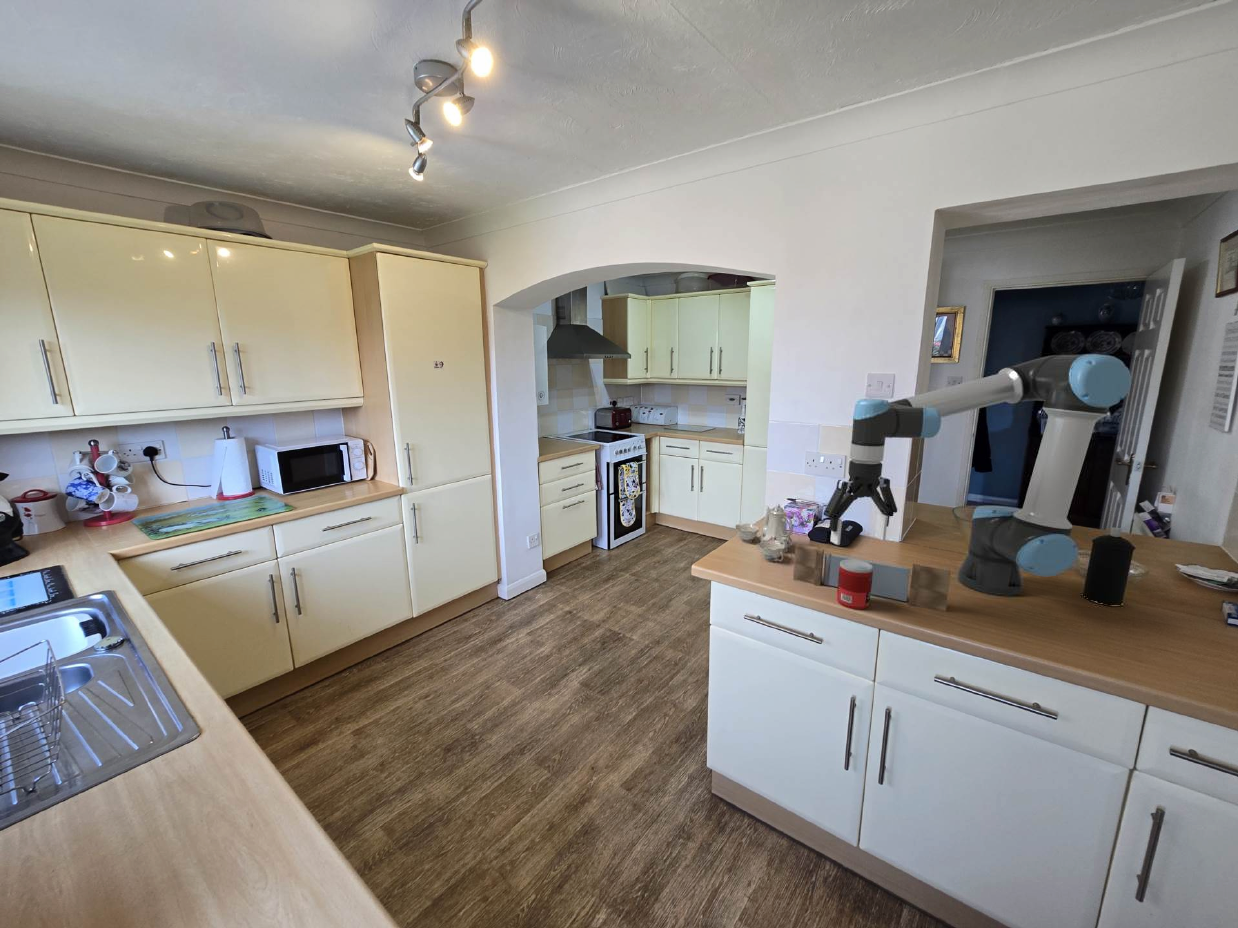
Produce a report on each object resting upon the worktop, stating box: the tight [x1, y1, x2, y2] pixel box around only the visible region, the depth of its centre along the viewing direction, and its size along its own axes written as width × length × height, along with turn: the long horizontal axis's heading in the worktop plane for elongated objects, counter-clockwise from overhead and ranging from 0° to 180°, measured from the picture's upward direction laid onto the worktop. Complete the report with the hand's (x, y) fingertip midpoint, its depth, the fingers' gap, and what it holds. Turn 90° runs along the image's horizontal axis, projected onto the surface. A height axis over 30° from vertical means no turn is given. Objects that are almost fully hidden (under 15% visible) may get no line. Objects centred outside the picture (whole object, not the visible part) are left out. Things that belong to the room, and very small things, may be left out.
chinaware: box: [735, 503, 794, 562], centre depth 170 cm, size 28×17×17 cm, turn 17°
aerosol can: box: [1081, 527, 1136, 606], centre depth 131 cm, size 8×8×20 cm
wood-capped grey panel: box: [792, 543, 952, 613], centre depth 137 cm, size 38×3×10 cm, turn 58°
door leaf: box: [822, 552, 911, 602], centre depth 138 cm, size 21×2×9 cm, turn 58°
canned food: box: [836, 559, 873, 611], centre depth 132 cm, size 8×8×11 cm
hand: (857, 540), depth 129 cm, fingers open, 13 cm apart
